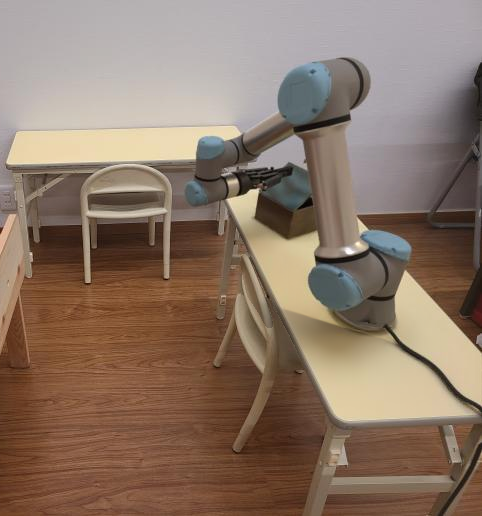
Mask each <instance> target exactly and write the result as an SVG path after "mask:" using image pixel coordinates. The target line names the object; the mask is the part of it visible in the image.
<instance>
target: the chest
mask: <svg viewBox="0 0 482 516" xmlns="http://www.w3.org/2000/svg"><path fill="white" fill-rule="evenodd" d="M253 218H254V219H256V220H257V221H259V222H260V223H262V224H263V225H264V226H267V228H270V229H271V230H273V231H274V232H276V233H277V234H279V235H281V236H282V237H284V238H285V239H286V240H291V239H293V238H296V237H300V236H302V235H307V234H309V233H313V232H316V231H317V225H316V219H315V213H314V207H313V200H312V197H311V196H310V197H309V198H308V199H307V200H306V201H305V202H304V203H303V204H302V205H301V206H300V207H299V208H298V209H297V210H296V211H295V212H293V211H291V210H290V209H288V208H286V207H284V206H283V205H281V204H279V203H278V202H276V201H274V200H272V199H271V198H269V197H267V196H265V195H264V194H262V193H260V192H259V191H258V193H257V199H256V206H255V211H254V217H253Z"/></svg>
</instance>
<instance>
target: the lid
mask: <svg viewBox="0 0 482 516" xmlns="http://www.w3.org/2000/svg"><path fill="white" fill-rule="evenodd" d="M287 166H292V167H293V172H292V175H291V176H287V177H283V178H281V183H279V184H277V185H275V186H273V187H271V188H268V189H267V190H266V191H265V192H264V191H262V189H261V188H258V193H259V192H260V193H262V194H264V195H265V196H267V197H269V198H271V199H272V200H274V201H276V202H278V203H279V204H281V205H283V206H284V207H286V208H288V209H290V210H291V211H293V212H295V211H296V210H297V209H298V208H299V207H300V206H301V205H302V204H303V203H304V202H305V201H306V200H307V199H308V198H309V197H310V196H312V194H311V188H310V182H309V176H308V171H307V170H305V169H303V168H302V167H301V166H299V165H297V164H295V163H293V162H290V161H288V162H287V163H286V164H285V165H284V166H283V167H287Z"/></svg>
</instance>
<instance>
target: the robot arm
mask: <svg viewBox="0 0 482 516" xmlns="http://www.w3.org/2000/svg"><path fill="white" fill-rule="evenodd" d="M371 84H372V79H371V74H370V71H369V69H368V68H367V66H366V65H365V64H364V63H363V62H362V61H360V60H358V59H356V58H353V57H348V56H341V57H336V58H331V59H325V60H324V59H323V60H318V61H312V62H307V63H304V64H302V65H301V64H300V65H298V66H296V67H295V68H292V69H291V70H290V71H289V72H288V73H286V75H285V76H284V77H283V80H282V82H280V85H279V88H278V91H277V97H276V99H277V108H278V110H277V111H275V112H274V113H273V114H271V115H269V116H267V118H265V119H263V120H262V121H260V122H258V123H257V124H255V125H254V126H252V127H250V128H249V129H247V130H245V132H243V133H241V134H240V135H238V136H236V137H233V138H230V139H223V138H222V137H220V136H216V135H205V136H202V137H200V138H199V139H198V140H197V146H196V151H195V167H194V169H195V170H194V175H193V180H191V181H188V182H187V183H186V184H185V186H184V190H183V191H184V198H185V200H186V202H187V203H188V204H189V205H190V206H191V207H195V208H196V207H197V208H198V207H202V206H207V205H211V204H214V203H217V202H221V201H225V200H228V199H233V198H237V197H241V196H244V195H247V194H248V193H249V192H250V191H251V190H257V189H260V188H261V189H262V191H264V192H265V191H266V190H267V189H268V188H271V187H273V186H275V185H277V184H279V183H281V178H283V177H287V176H291V175H292V172H293V167H292V166H287V167H284V166H283V167H279V168H275V167H274V166H270V168H269V167H267V166H266V167H255V168H246V169H244V168H239V169H238V170H235V171H231V172H226V173H222V172H223V169H226V168H230V167H234V166H236V165H239V164H240V165H241V164H243V163H247V162H251V161H254V160H255V159H258V158H259V157H260V156H261V155H262V153H264V152H265V151H267V150H269V149H271V148H274V147H275V146H276V145H278V144H281V143H282V142H284V141H287V140H288V139H290V138H292V137H293V136H295V137H297V138H299V139H301V141H302V144H303V150H304V151H303V152H304V156H305V159H306V164H307V170H308V176H309V182H310V188H311V194H312V200H313V207H314V213H315V219H316V225H317V230H316V232H317V237H318V245H317V247H316V248H315V250H314V251H313V257H314V263H315V266H313V267H312V268H311V270H310V272H309V273H308V275H307V285H308V288H309V290H310V293H311V295H312V296H313V297H314V298H315V300H317V301H318V302H319V303H320V304H321V305H322V306H324V307H325V308H328V309H330V310H331V312H332V314H333V316H334V317H335V318H336V319H337V320H338V321H339V322H341V323H342V324H343V325H345V326H347V327H349V328H351V329H353V330H355V331H356V330H357V331H360V332H363V333H370V334H371V333H372V334H377V333H384V332H386V331H387V333H389V335H390V336H391V337H392V339H393V340H394V341H395V342H396V343H397V345H399V346H400V347H401V348H402V349H403V350H404V351H406V352H408V353H409V354H410V355H412V356H414V357H415V358H417V359H419V360H421V361H422V362H424V364H427V365H428V366H429V367H430V368H432V369H433V370H434V371H435V372H436V374H438V375H439V376H440V378H441V379H442V380H443V383H444V384H445V385H446V386H447V387H448V389H450V391H451V392H452V393H453V394H454V395H455V396H456V397H457V398H459V400H461V401H463V402H464V403H466V404H468V405H470V406H472V407H473V408H475V409H477V410H478V411H479V412H480V413H481V414H482V405H480V404H479V403H478V402H475V401H474V400H473V399H470V398H468V397H466V396H465V395H463V394H462V393H461V392H460V391H459V390H458V389H457V388H456V387H455V386H454V384H453V383H452V382H451V381H450V379H449V378H448V377H447V375H445V373H444V372H443V371H442V370H441V369H440V368H439V367H438V366H437V365H436V364H435V363H434V362H432V361H431V360H430V359H429V358H426V356H424V355H421V354H420V353H419V352H417V351H415V350H414V349H412V348H410V347H409V346H407V345H406V344H405V343H404V342H403V341H402V340H401V339H400V338H399V337H398V336H397V334H396V333H395V332H394V331H393V329H392V327H393V325H394V323H395V320H396V315H397V313H396V295H397V292H398V290H399V287H400V284H401V282H402V279H403V277H404V274H405V272H406V269H407V266H408V263H409V261H410V260H411V258H410V257H411V255H412V254H411V253H412V246H411V245H410V243H409V242H408V241H407V240H406V239H405V238H402V237H401V236H399V235H396V234H393V233H390V232H388V231H384V230H378V229H367V230H364V231H362V232H361V233H360V228H359V221H358V214H357V207H356V200H355V194H354V186H353V178H352V171H351V166H350V157H349V152H348V151H349V150H348V144H347V138H346V130H347V128H348V127H349V126H350V124H351V123H352V115H351V111H353V110H354V109H356V108H358V107H359V106H361V105H362V103H363V102H364V101H365V100H366V99H367V97H368V95H369V93H370V90H371ZM481 454H482V441H481V442H479V443H478V444H477V447H476V449H475V452H474V455H473V457H472V459H471V461H470V464H469V466H468V468H467V469H466V471H465V473H464V474H463V476H462V478H461V480H460V481H459V482H458V484H457V486H456V487H455V489H454V490H453V491H452V493H451V494H450V496H449V497H448V499H447V500H446V501H445V503H444V505H442V508H441V509H440V511H439V512H438V514H437V516H444V515H445V514H446V512H448V511H447V510H448V509H449V508H450V506H451V505H452V503H453V502H454V501H455V499H456V498H457V497H458V495H459V494H460V492H461V491H462V489H463V488H464V487H465V485H466V483H467V482H468V480H469V479H470V477H471V476H472V473H473V471H474V470H475V468H476V467H477V464H478V461H479V459H480V457H481Z"/></svg>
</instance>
